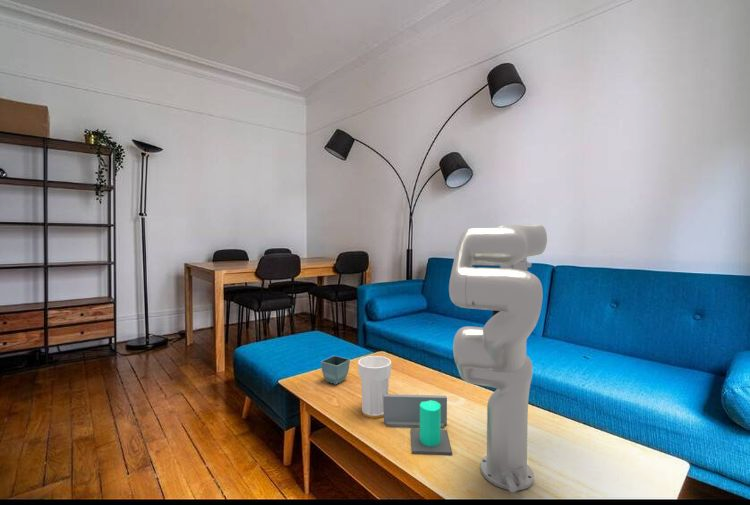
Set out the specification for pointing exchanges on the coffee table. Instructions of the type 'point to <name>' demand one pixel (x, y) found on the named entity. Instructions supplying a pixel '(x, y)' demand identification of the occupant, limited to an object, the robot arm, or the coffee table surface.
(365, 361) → the cup
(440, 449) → the mat
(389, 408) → the board
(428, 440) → the candle
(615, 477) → the coffee table surface
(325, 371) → the flower pot
